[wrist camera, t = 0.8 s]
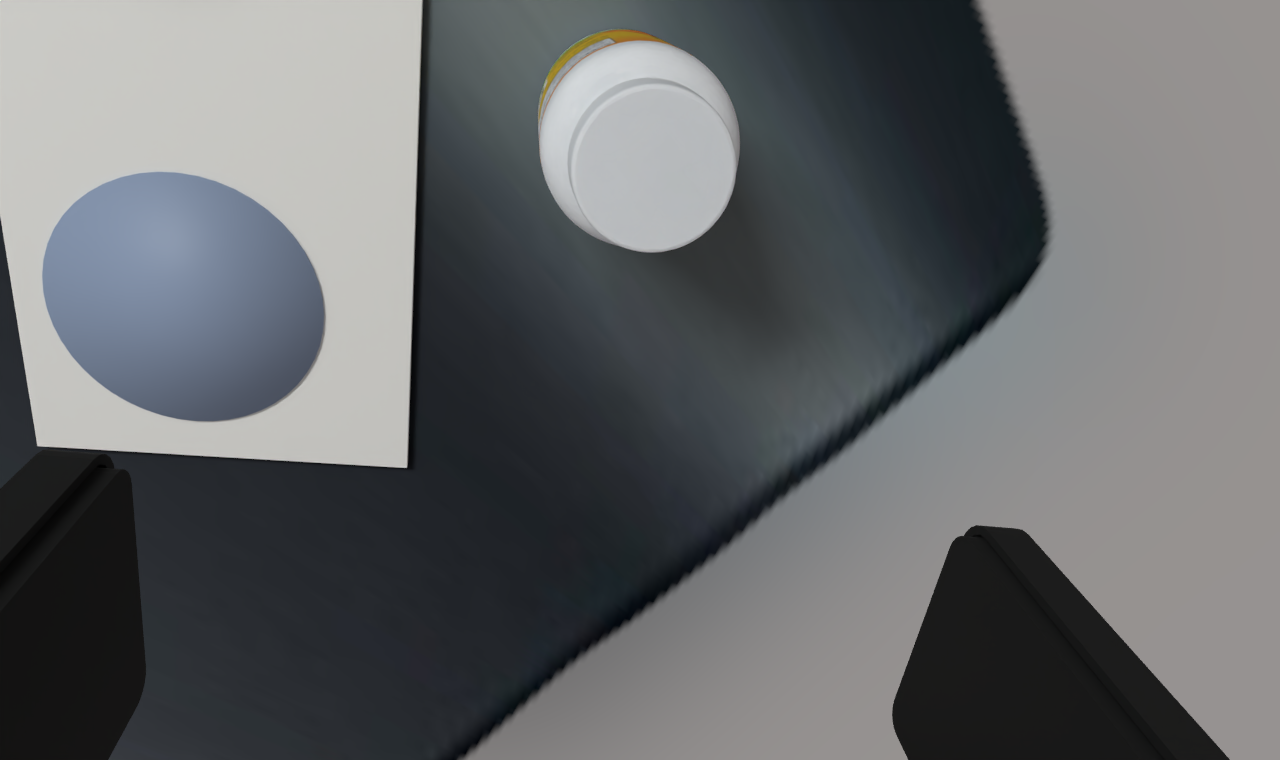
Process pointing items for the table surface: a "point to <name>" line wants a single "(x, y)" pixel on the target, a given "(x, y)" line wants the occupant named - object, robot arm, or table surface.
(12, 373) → the table surface
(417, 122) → the paper sheet
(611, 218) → the supplement bottle
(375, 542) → the table surface
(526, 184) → the table surface
